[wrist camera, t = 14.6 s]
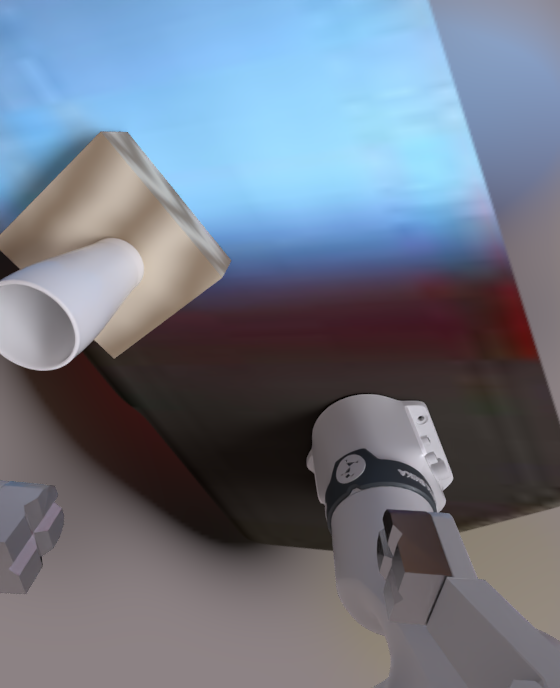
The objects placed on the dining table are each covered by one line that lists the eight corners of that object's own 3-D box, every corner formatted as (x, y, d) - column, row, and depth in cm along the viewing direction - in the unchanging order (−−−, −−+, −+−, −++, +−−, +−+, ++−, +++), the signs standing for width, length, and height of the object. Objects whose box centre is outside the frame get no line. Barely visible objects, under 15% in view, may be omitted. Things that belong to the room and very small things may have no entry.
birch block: (231, 260, 45) (222, 277, 40) (133, 334, 50) (114, 358, 45) (127, 132, 39) (100, 131, 34) (29, 229, 44) (-8, 242, 39)
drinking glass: (97, 298, 41) (1, 375, 28) (75, 232, 38) (-45, 283, 25) (160, 292, 41) (93, 369, 27) (143, 225, 38) (58, 274, 24)
